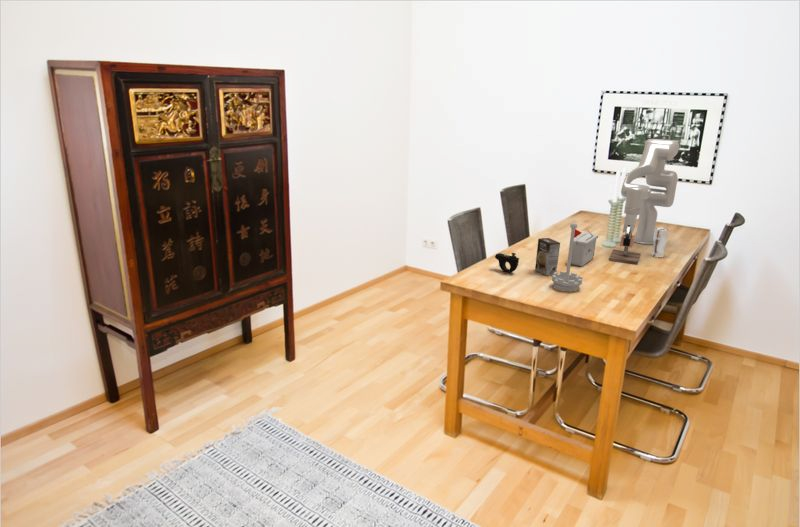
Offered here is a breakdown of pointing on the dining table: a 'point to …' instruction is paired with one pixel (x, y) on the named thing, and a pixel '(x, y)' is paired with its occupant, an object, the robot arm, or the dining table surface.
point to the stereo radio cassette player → (583, 248)
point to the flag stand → (568, 269)
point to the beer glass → (659, 241)
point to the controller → (507, 258)
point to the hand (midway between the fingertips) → (626, 244)
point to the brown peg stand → (625, 256)
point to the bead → (630, 241)
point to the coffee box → (547, 256)
